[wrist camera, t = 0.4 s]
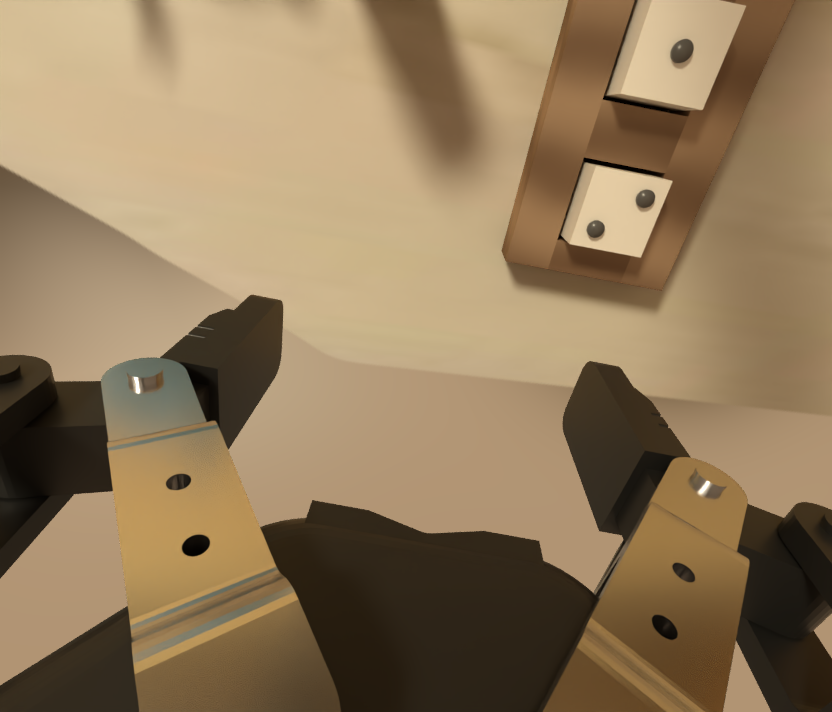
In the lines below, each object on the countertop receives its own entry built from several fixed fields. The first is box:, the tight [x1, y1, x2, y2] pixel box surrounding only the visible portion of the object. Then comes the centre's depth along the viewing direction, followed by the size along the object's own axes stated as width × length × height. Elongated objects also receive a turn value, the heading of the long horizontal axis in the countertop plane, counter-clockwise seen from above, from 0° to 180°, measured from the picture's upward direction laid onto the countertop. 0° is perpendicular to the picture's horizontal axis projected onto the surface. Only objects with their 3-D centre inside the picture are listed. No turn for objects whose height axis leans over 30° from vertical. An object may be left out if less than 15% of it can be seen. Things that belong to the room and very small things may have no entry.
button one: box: [604, 0, 746, 111], centre depth 27 cm, size 5×5×4 cm
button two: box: [559, 162, 673, 258], centre depth 31 cm, size 5×5×4 cm
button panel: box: [502, 0, 795, 291], centre depth 28 cm, size 28×12×3 cm, turn 170°
